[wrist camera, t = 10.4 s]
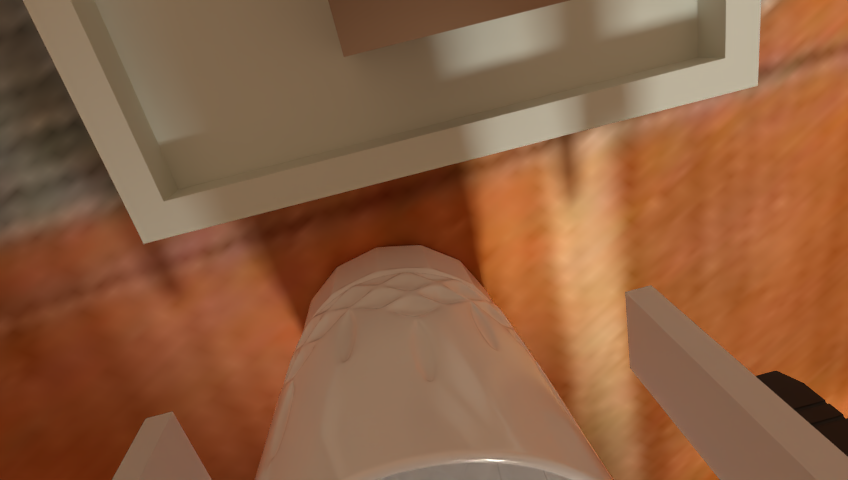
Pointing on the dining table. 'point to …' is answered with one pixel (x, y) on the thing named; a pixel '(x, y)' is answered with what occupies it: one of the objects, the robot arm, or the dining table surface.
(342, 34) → the walnut block
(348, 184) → the tray
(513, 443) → the white cup
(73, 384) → the dining table surface
